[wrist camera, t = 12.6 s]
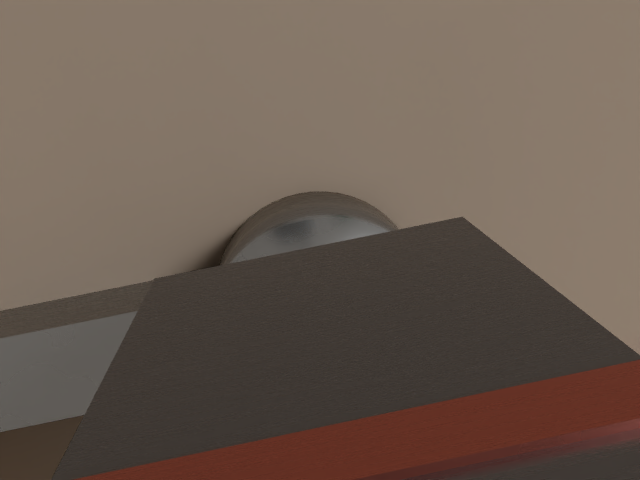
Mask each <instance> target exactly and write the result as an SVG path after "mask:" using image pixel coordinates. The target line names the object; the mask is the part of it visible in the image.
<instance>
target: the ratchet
mask: <svg viewBox="0 0 640 480" xmlns="http://www.w3.org/2000/svg"><path fill="white" fill-rule="evenodd" d="M395 230H399V229H398V228H397V226H396V225H395V224H394V223H393V222H392V221H391V220H390V219H389V218H388V217H387V216H386V215H384V214H383V213H382V212H381V211H379V210H378V209H377V208H375V207H373V206H372V205H370V204H368V203H366V202H364V201H362V200H360V199H357V198H355V197H352V196H348V195H344V194H340V193H333V192H307V193H299V194H295V195H291V196H288V197H284V198H282V199H280V200H277V201H275V202H272V203H271V204H269V205H267V206H265V207H264V208H262V209H260V210H259V211H258V212H256V213H255V214H254V215H252V216H251V217H250V218H249V219H248V220H247V221H246V222H245V223H244V224H243V225H242V226H241V227H240V228H239V229H238V231H237V232H236V233H235V234H234V236H233V237H232V239H231V240H230V242H229V244H228V246H227V247H226V249H225V252H224V254H223V257H222V259H221V262H220V265H225V264H230V263H235V262H240V261H245V260H250V259H255V258H260V257H265V256H270V255H275V254H280V253H285V252H290V251H295V250H300V249H305V248H310V247H315V246H320V245H325V244H330V243H335V242H340V241H345V240H350V239H355V238H360V237H365V236H370V235H375V234H380V233H385V232H390V231H395ZM152 282H153V281H149V282H144V283H139V284H134V285H129V286H124V287H119V288H114V289H109V290H104V291H99V292H94V293H89V294H84V295H78V296H73V297H68V298H63V299H58V300H53V301H48V302H43V303H38V304H33V305H28V306H23V307H18V308H13V309H8V310H3V311H0V432H3V431H8V430H13V429H18V428H23V427H28V426H33V425H38V424H42V423H47V422H52V421H57V420H62V419H67V418H72V417H77V416H82V415H85V413H86V411H87V409H88V407H89V405H90V403H91V401H92V399H93V397H94V395H95V393H96V391H97V390H98V388H99V386H100V384H101V382H102V380H103V378H104V376H105V374H106V372H107V370H108V368H109V366H110V364H111V362H112V360H113V358H114V356H115V354H116V352H117V350H118V349H119V347H120V345H121V343H122V341H123V339H124V337H125V335H126V333H127V331H128V329H129V327H130V325H131V323H132V321H133V319H134V317H135V315H136V313H137V311H138V309H139V308H140V306H141V304H142V302H143V300H144V298H145V296H146V294H147V292H148V290H149V288H150V286H151V284H152Z"/></svg>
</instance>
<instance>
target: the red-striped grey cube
mask: <svg viewBox="0 0 640 480" xmlns="http://www.w3.org/2000/svg"><path fill="white" fill-rule="evenodd" d="M51 480H640V355H639V354H637V353H636V352H635V351H634V350H632V349H631V348H630V347H628V346H627V345H626V344H625V343H623V342H622V341H621V340H619V339H618V338H617V337H616V336H614V335H613V334H612V333H611V332H609V331H608V330H607V329H605V328H604V327H603V326H602V325H600V324H599V323H598V322H596V321H595V320H594V319H593V318H591V317H590V316H589V315H587V314H586V313H585V312H584V311H582V310H581V309H580V308H579V307H577V306H576V305H575V304H573V303H572V302H571V301H570V300H568V299H567V298H566V297H564V296H563V295H562V294H561V293H559V292H558V291H557V290H555V289H554V288H553V287H552V286H550V285H549V284H548V283H547V282H545V281H544V280H543V279H541V278H540V277H539V276H538V275H536V274H535V273H534V272H532V271H531V270H530V269H529V268H527V267H526V266H525V265H523V264H522V263H521V262H520V261H518V260H517V259H516V258H515V257H513V256H512V255H511V254H509V253H508V252H507V251H506V250H504V249H503V248H502V247H500V246H499V245H498V244H497V243H495V242H494V241H493V240H491V239H490V238H489V237H488V236H486V235H485V234H484V233H483V232H481V231H480V230H479V229H477V228H476V227H475V226H474V225H472V224H471V223H470V222H468V221H467V220H466V219H465V218H463V217H459V218H454V219H449V220H444V221H439V222H434V223H429V224H424V225H419V226H414V227H410V228H405V229H400V230H395V231H390V232H385V233H380V234H375V235H370V236H365V237H360V238H355V239H350V240H345V241H340V242H335V243H330V244H325V245H320V246H315V247H310V248H305V249H300V250H295V251H290V252H285V253H280V254H275V255H270V256H265V257H260V258H255V259H250V260H245V261H240V262H235V263H230V264H225V265H220V266H215V267H210V268H205V269H200V270H196V271H191V272H186V273H181V274H176V275H171V276H166V277H161V278H156V279H154V280H153V282H152V284H151V286H150V288H149V290H148V292H147V294H146V296H145V298H144V300H143V302H142V304H141V306H140V308H139V309H138V311H137V313H136V315H135V317H134V319H133V321H132V323H131V325H130V327H129V329H128V331H127V333H126V335H125V337H124V339H123V341H122V343H121V345H120V347H119V349H118V350H117V352H116V354H115V356H114V358H113V360H112V362H111V364H110V366H109V368H108V370H107V372H106V374H105V376H104V378H103V380H102V382H101V384H100V386H99V388H98V390H97V391H96V393H95V395H94V397H93V399H92V401H91V403H90V405H89V407H88V409H87V411H86V413H85V415H84V417H83V419H82V421H81V423H80V425H79V427H78V429H77V431H76V432H75V434H74V436H73V438H72V440H71V442H70V444H69V446H68V448H67V450H66V452H65V454H64V456H63V458H62V460H61V462H60V464H59V466H58V468H57V470H56V472H55V474H54V475H53V477H52V479H51Z"/></svg>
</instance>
